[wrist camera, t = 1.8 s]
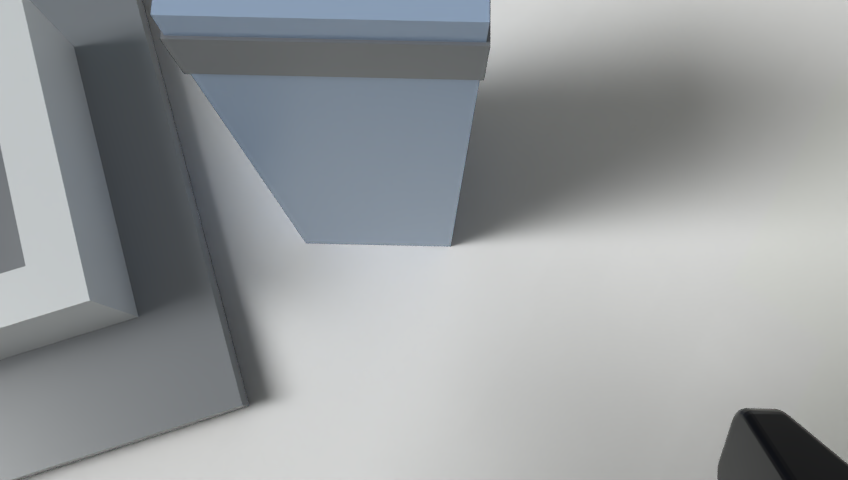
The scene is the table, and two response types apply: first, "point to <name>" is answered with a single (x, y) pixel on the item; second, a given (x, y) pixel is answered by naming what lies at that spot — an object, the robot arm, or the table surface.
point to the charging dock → (98, 244)
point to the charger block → (343, 105)
